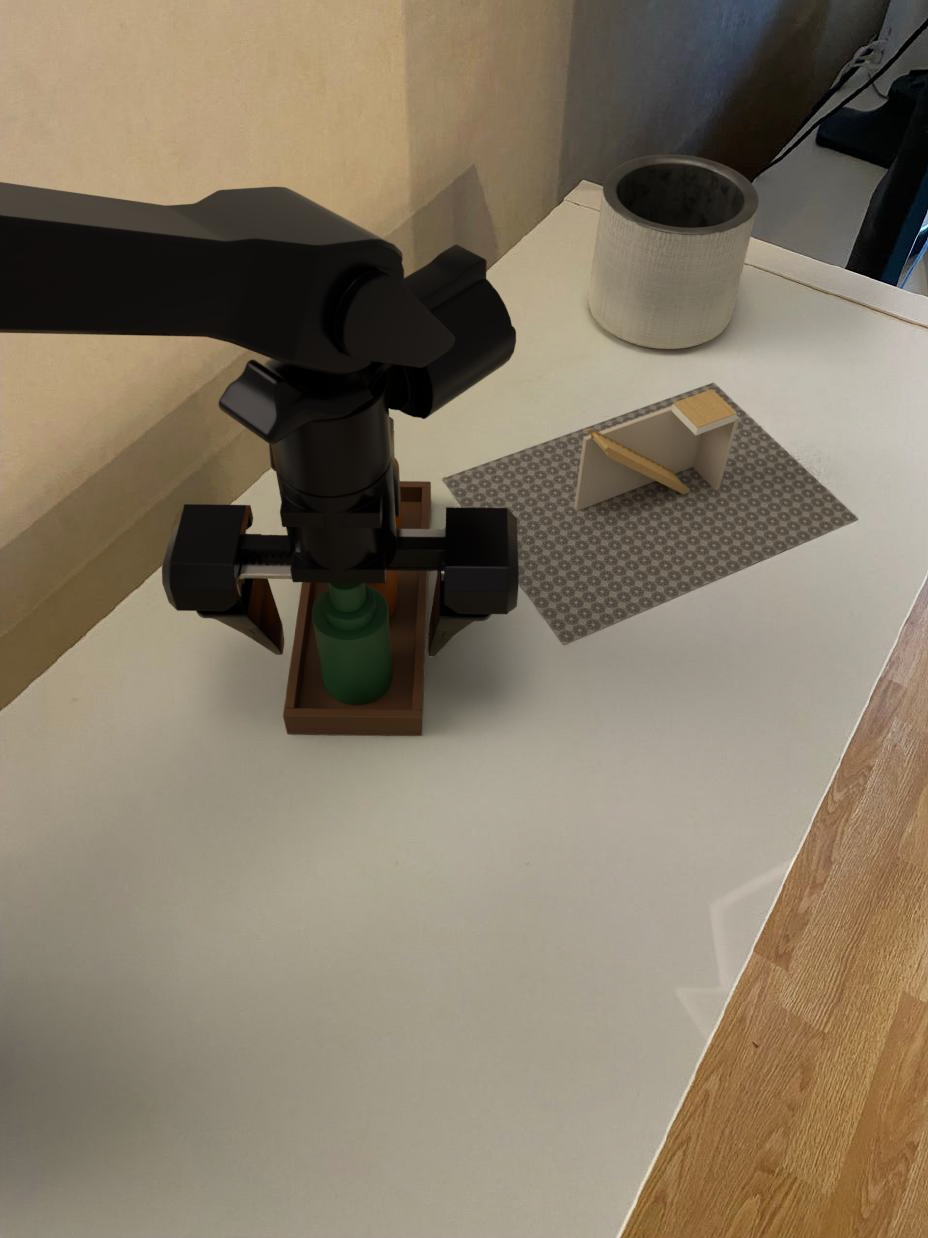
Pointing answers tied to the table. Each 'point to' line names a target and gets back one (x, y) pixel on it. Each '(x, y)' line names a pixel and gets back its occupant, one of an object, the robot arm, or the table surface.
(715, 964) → the table surface
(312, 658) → the tray
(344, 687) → the green bottle
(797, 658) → the table surface
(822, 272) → the table surface
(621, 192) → the planter
